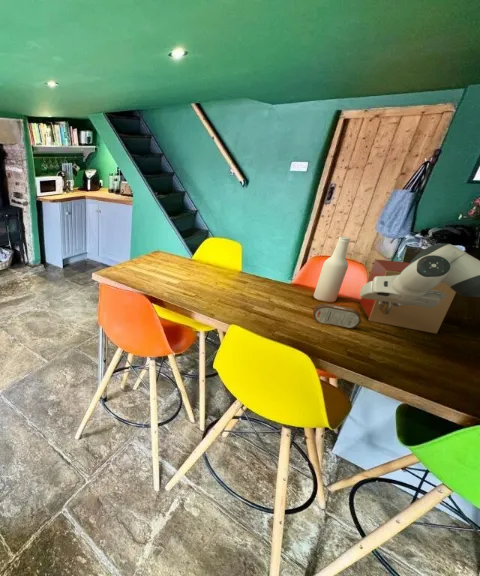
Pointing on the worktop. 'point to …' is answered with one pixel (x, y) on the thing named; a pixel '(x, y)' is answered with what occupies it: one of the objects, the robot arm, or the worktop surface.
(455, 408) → the worktop surface
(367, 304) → the red cabinet
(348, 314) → the tin
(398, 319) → the door
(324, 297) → the alcohol
